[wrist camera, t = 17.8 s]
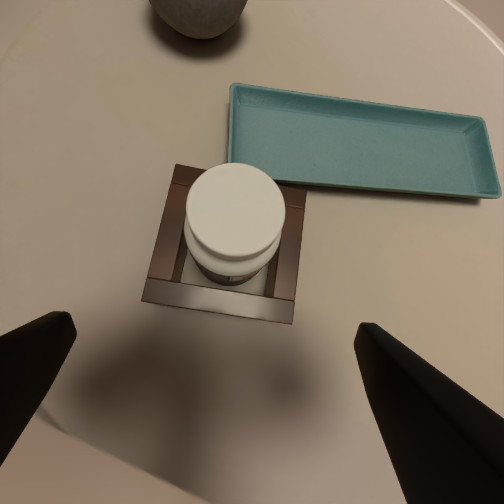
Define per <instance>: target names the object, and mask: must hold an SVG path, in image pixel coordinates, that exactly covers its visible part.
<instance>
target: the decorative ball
mask: <svg viewBox="0 0 504 504" xmlns="http://www.w3.org/2000/svg"><path fill="white" fill-rule="evenodd" d="M149 2H150V3H151V5H152V6H153V8H154V9H155V10H156V12H157V13H158V14H159V15H160V16H161V17H162V19H163V20H164V21H165V22H166V23H168V25H170V26H171V27H172V28H173V29H175V30H176V31H178V32H180V33H182V34H184V35H186V36H189V37H192V38H197V39H209V38H213V37H216V36H218V35H221V34H222V33H224V32H225V31H227V30H228V29H229V28H230V27H231V26H232V25H233V24H234V23H235V22H236V21H237V19H238V18H239V16H240V15H241V13H242V11H243V9H244V7H245V5H246V2H247V0H149Z"/></svg>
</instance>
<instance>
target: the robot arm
mask: <svg viewBox="0 0 504 504" xmlns="http://www.w3.org/2000/svg"><path fill="white" fill-rule="evenodd" d="M76 336H77V331H76V328H75V325H74V323H73V320H72V317H71V315H70V314H69V313H68V312H65V311H53V312H50V313H48V314H46V315H44V316H42V317H40V318H37V319H35V320H33V321H31V322H29V323H27V324H25V325H23V326H21V327H19V328H17V329H14V330H12V331H10V332H8V333H6V334H4V335H2V336H0V466H1V465H2V463H3V462H4V460H5V459H6V457H7V455H8V454H9V452H10V451H11V449H12V448H13V446H14V445H15V443H16V441H17V440H18V438H19V437H20V435H21V433H22V432H23V430H24V429H25V427H26V426H27V424H28V422H29V421H30V419H31V418H32V416H33V415H34V413H35V412H36V410H37V408H38V407H39V405H40V404H41V402H42V400H43V399H44V397H45V396H46V394H47V392H48V391H49V389H50V387H51V385H52V384H53V382H54V380H55V378H56V376H57V374H58V372H59V370H60V368H61V366H62V365H63V363H64V361H65V359H66V357H67V355H68V353H69V351H70V349H71V347H72V345H73V343H74V341H75V339H76ZM354 350H355V354H356V357H357V361H358V365H359V369H360V372H361V376H362V380H363V384H364V387H365V391H366V394H367V398H368V401H369V403H370V406H371V409H372V412H373V414H374V417H375V420H376V422H377V425H378V427H379V430H380V433H381V435H382V438H383V441H384V443H385V446H386V449H387V451H388V454H389V457H390V459H391V462H392V465H393V467H394V470H395V473H396V475H397V478H398V481H399V483H400V486H401V488H402V491H403V494H404V496H405V499H406V502H407V504H504V418H502V417H501V416H500V415H498V414H497V413H495V412H494V411H493V410H491V409H490V408H489V407H487V406H486V405H485V404H483V403H482V402H481V401H479V400H478V399H477V398H475V397H474V396H473V395H471V394H470V393H469V392H467V391H466V390H464V389H463V388H462V387H460V386H459V385H458V384H456V383H455V382H454V381H452V380H451V379H450V378H448V377H447V376H446V375H444V374H443V373H442V372H440V371H439V370H438V369H436V368H435V367H433V366H432V365H431V364H429V363H428V362H427V361H425V360H424V359H423V358H421V357H420V356H419V355H417V354H416V353H415V352H413V351H412V350H411V349H409V348H408V347H407V346H405V345H404V344H402V343H401V342H400V341H398V340H397V339H396V338H394V337H393V336H392V335H390V334H389V333H388V332H386V331H385V330H384V329H382V328H381V327H380V326H378V325H377V324H375V323H366V322H363V323H361V324H360V325H359V328H358V331H357V334H356V337H355V340H354Z"/></svg>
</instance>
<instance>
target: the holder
mask: <svg viewBox="0 0 504 504" xmlns="http://www.w3.org/2000/svg"><path fill="white" fill-rule="evenodd" d="M205 171H207V170H204V169H199V168H194V167H189V166H184V165H180V164H176V165H175V168H174V172H173V176H172V180H171V184H170V188H169V192H168V196H167V200H166V204H165V208H164V212H163V216H162V220H161V224H160V228H159V232H158V236H157V239H156V243H155V247H154V251H153V255H152V259H151V263H150V267H149V271H148V275H147V279H146V283H145V287H144V291H143V295H142V299H141V301H142V302H147V303H154V304H160V305H167V306H173V307H180V308H186V309H193V310H199V311H206V312H213V313H219V314H226V315H232V316H239V317H245V318H252V319H258V320H265V321H271V322H278V323H284V324H291V325H292V322H293V313H294V304H295V302H294V301H295V295H296V285H297V276H298V267H299V258H300V249H301V240H302V231H303V221H304V212H305V210H304V209H305V203H306V194H307V191H305V190H300V189H296V188H291V187H286V186H281V185H277V186H278V187H279V189H280V191H281V193H282V196H283V199H284V203H285V220H284V224H283V227H282V232H281V239H280V242H279V245H278V248H277V250H276V252H275V254H274V255H273V257H272V259H271V260H270V261H269V267H268V275H267V282H266V289H265V296H259V295H253V294H247V293H241V292H234V291H228V290H222V289H216V288H210V287H204V286H198V285H191V284H185V283H180V279H181V275H182V270H183V265H184V261H185V256H186V252H187V247H188V246H187V243H186V239H185V235H184V222H185V217H186V201H187V196H188V193H189V191H190V188H191V187H192V185H193V183H194V182H195V181H196V180H197V178H198V177H199V176H200V175H202V174H203V173H204V172H205Z"/></svg>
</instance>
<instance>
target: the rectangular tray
mask: <svg viewBox="0 0 504 504" xmlns="http://www.w3.org/2000/svg"><path fill="white" fill-rule="evenodd" d="M227 163H242V164H247V165H250V166H253V167H255V168H258V169H259V170H261V171H263V172H264V173H266V174H267V175H268V176H269V177H271V178H272V180H273V181H274V182H282V183H292V184H303V185H315V186H326V187H339V188H351V189H363V190H375V191H387V192H400V193H413V194H426V195H438V196H451V197H463V198H478V199H497V198H500V197H501V195H502V192H501V188H500V184H499V180H498V176H497V172H496V167H495V163H494V159H493V154H492V149H491V145H490V141H489V136H488V133H487V128H486V124H485V121H484V119H483V118H481V117H477V116H469V115H462V114H454V113H447V112H439V111H432V110H425V109H417V108H410V107H402V106H395V105H388V104H381V103H374V102H365V101H360V100H352V99H345V98H338V97H331V96H323V95H316V94H310V93H302V92H296V91H289V90H281V89H274V88H268V87H261V86H254V85H247V84H241V83H233V84H231V86H230V108H229V141H228V158H227Z"/></svg>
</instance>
